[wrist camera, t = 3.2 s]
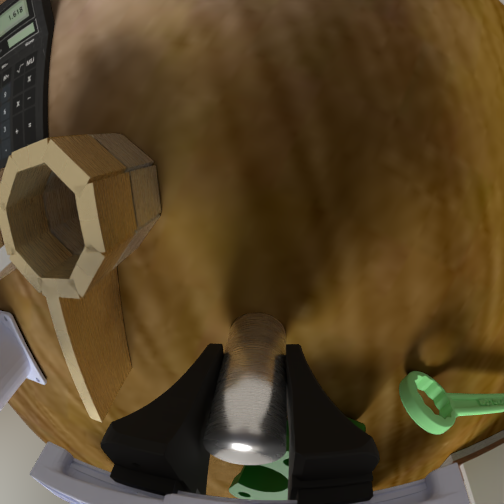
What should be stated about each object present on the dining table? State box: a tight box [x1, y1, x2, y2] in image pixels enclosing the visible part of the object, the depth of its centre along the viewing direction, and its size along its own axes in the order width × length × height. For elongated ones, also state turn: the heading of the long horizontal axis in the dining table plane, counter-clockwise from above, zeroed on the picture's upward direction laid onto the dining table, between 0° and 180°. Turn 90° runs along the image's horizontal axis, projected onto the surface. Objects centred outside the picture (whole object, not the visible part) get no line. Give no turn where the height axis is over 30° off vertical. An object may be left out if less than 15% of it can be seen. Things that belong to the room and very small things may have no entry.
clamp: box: [229, 417, 366, 500], centre depth 17 cm, size 11×6×8 cm, turn 152°
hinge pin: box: [203, 313, 287, 465], centre depth 12 cm, size 3×3×7 cm
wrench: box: [399, 371, 504, 434], centre depth 14 cm, size 25×2×5 cm, turn 73°
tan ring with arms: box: [0, 133, 162, 422], centre depth 12 cm, size 14×14×5 cm
